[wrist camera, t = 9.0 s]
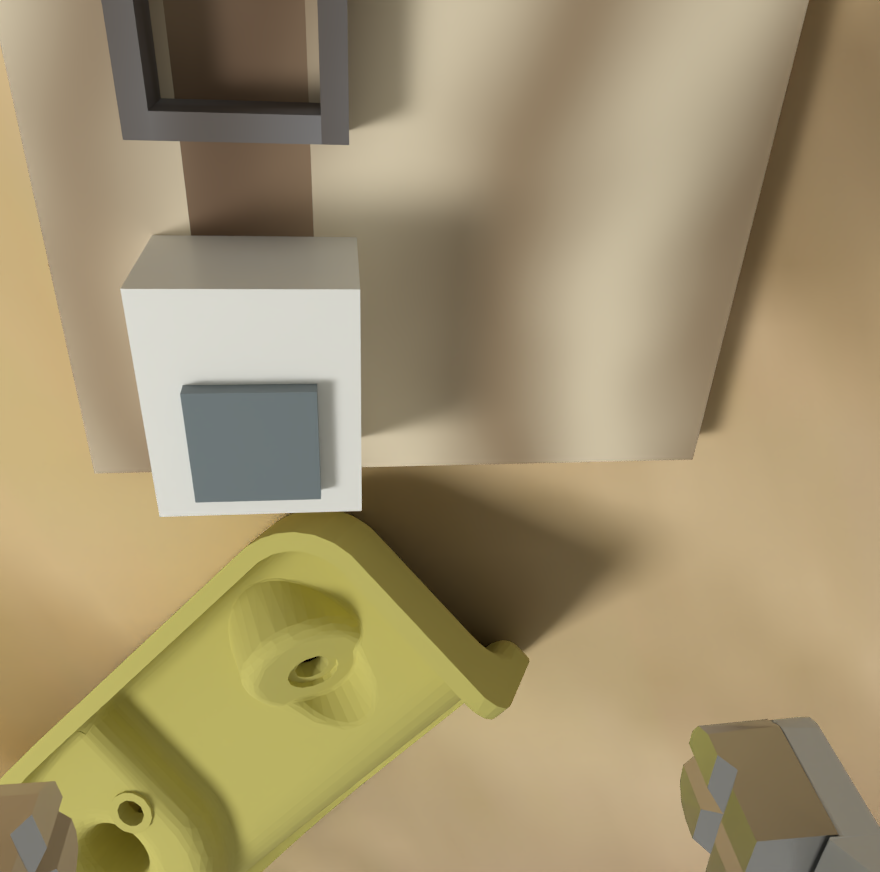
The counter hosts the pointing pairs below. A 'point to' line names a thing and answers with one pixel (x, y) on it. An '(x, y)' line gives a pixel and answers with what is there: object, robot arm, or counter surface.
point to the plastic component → (264, 704)
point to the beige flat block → (423, 196)
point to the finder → (249, 372)
